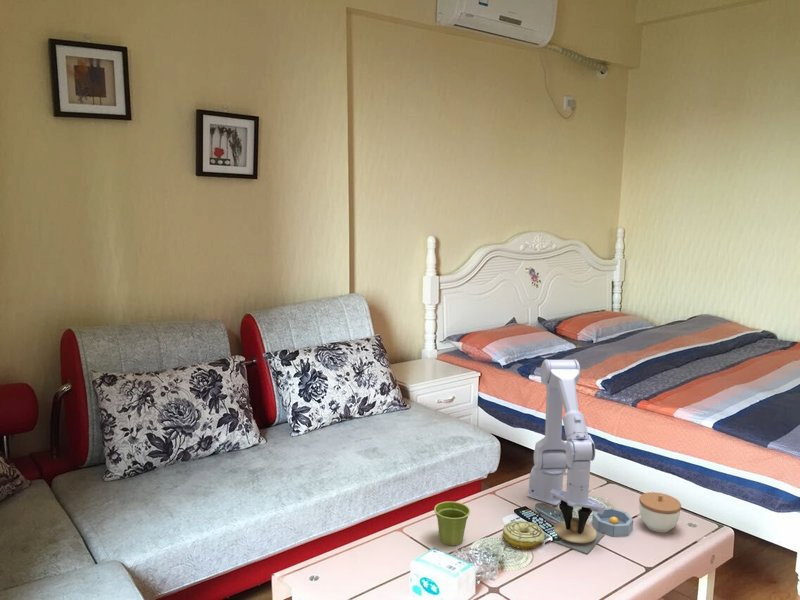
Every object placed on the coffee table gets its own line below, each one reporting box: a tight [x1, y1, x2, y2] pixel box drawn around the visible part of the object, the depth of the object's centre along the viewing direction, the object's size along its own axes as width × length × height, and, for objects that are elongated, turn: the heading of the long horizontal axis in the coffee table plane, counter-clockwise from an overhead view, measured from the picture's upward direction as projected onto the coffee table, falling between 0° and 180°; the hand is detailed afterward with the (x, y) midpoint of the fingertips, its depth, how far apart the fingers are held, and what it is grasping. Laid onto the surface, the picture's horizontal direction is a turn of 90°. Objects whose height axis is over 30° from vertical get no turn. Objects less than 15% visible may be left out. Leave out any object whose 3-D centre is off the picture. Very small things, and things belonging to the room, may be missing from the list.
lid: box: [553, 517, 597, 543], centre depth 175 cm, size 11×11×4 cm
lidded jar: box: [638, 491, 682, 534], centre depth 180 cm, size 11×11×9 cm
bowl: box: [591, 507, 634, 537], centre depth 180 cm, size 10×10×3 cm
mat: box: [553, 530, 605, 555], centre depth 175 cm, size 12×12×1 cm
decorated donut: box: [502, 520, 546, 550], centre depth 173 cm, size 10×11×4 cm
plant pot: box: [433, 501, 471, 546], centre depth 172 cm, size 9×9×9 cm
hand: (574, 530), depth 175 cm, fingers closed on lid, 3 cm apart
